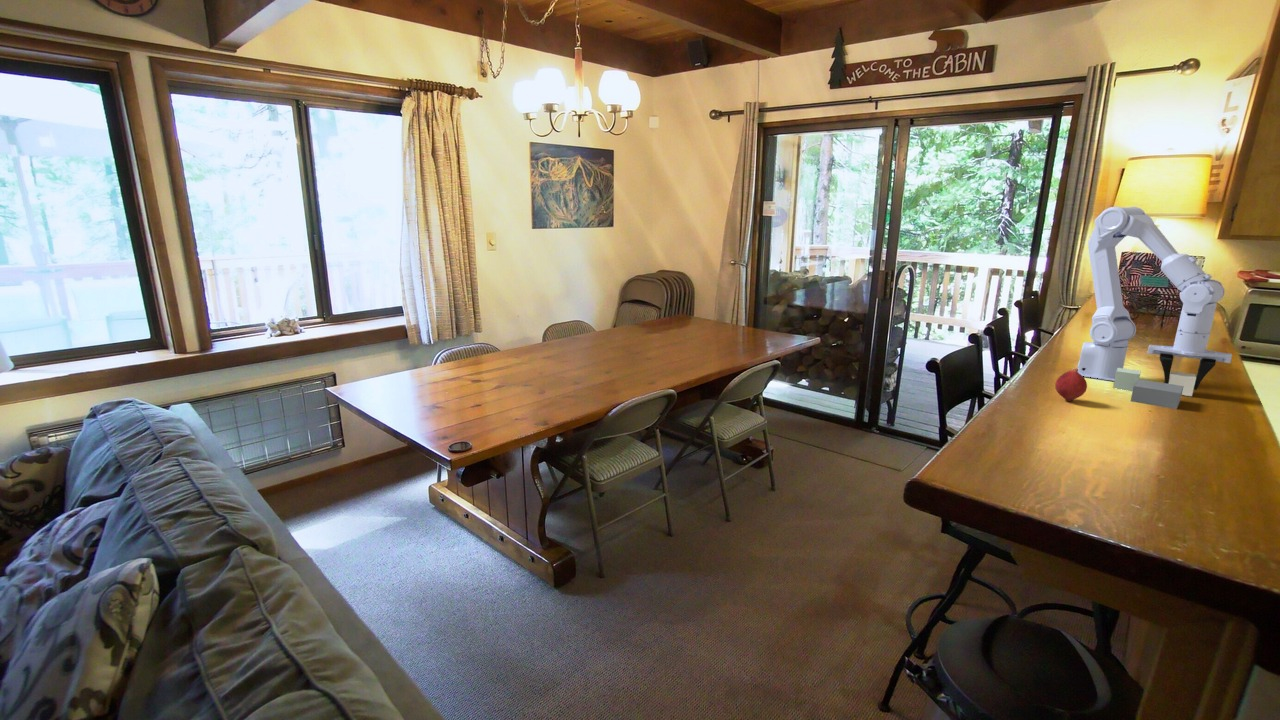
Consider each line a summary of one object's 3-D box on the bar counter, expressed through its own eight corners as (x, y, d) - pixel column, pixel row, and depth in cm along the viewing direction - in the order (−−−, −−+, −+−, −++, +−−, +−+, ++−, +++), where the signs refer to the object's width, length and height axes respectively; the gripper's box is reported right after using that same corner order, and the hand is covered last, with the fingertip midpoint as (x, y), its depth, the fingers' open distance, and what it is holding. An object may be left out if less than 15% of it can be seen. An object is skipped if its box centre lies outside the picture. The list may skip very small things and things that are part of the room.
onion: (1056, 403, 133) (1062, 369, 131) (1050, 396, 139) (1055, 363, 137) (1087, 406, 131) (1093, 372, 129) (1079, 398, 136) (1085, 366, 134)
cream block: (1166, 392, 140) (1170, 374, 139) (1166, 388, 143) (1170, 371, 142) (1191, 396, 137) (1196, 378, 136) (1191, 392, 140) (1196, 374, 139)
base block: (1130, 402, 134) (1133, 386, 134) (1135, 395, 140) (1138, 379, 139) (1176, 410, 129) (1180, 393, 128) (1179, 402, 134) (1183, 386, 133)
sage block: (1112, 388, 145) (1116, 371, 143) (1114, 384, 148) (1117, 367, 147) (1136, 392, 142) (1139, 374, 140) (1137, 388, 145) (1140, 370, 144)
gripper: (1152, 330, 138) (1140, 384, 142) (1237, 338, 129) (1223, 396, 132) (1153, 326, 143) (1141, 378, 147) (1235, 333, 134) (1221, 389, 137)
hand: (1180, 386), depth 140 cm, fingers closed on cream block, 4 cm apart
